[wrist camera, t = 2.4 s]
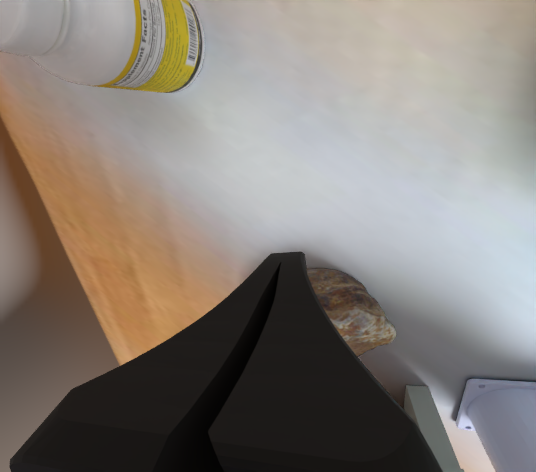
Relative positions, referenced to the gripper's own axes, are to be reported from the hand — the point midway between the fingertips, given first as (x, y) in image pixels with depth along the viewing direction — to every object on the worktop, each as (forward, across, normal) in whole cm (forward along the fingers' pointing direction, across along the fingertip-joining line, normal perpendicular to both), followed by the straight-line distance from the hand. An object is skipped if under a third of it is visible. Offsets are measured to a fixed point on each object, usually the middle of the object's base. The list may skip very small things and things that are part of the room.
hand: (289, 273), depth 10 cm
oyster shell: (+10, +1, +11) cm, 15 cm away
